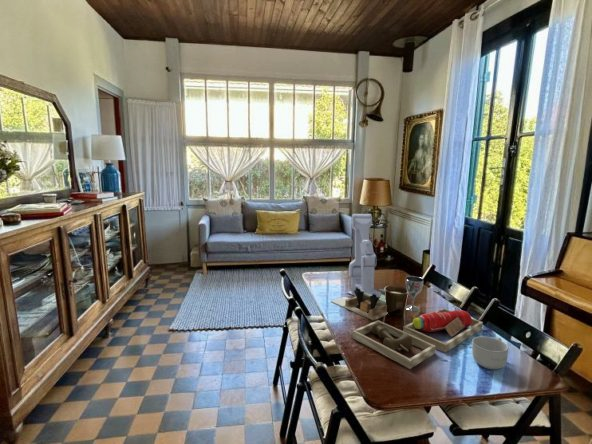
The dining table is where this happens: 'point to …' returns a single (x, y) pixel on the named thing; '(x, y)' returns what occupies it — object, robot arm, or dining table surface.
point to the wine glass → (413, 290)
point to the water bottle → (443, 321)
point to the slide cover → (382, 298)
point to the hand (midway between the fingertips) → (366, 306)
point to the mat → (340, 301)
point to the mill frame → (403, 360)
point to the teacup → (490, 352)
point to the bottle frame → (451, 343)
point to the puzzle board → (373, 314)
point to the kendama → (389, 341)
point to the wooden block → (365, 306)
